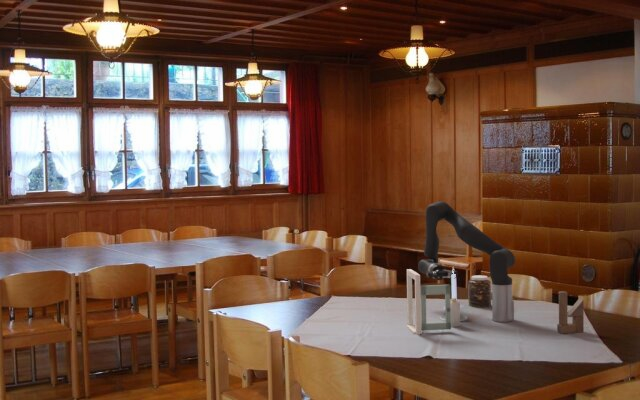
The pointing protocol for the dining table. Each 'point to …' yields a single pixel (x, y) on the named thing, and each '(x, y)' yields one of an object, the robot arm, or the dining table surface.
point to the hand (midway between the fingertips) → (445, 276)
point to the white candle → (455, 312)
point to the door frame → (415, 328)
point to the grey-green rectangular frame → (445, 290)
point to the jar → (479, 291)
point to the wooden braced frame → (570, 315)
